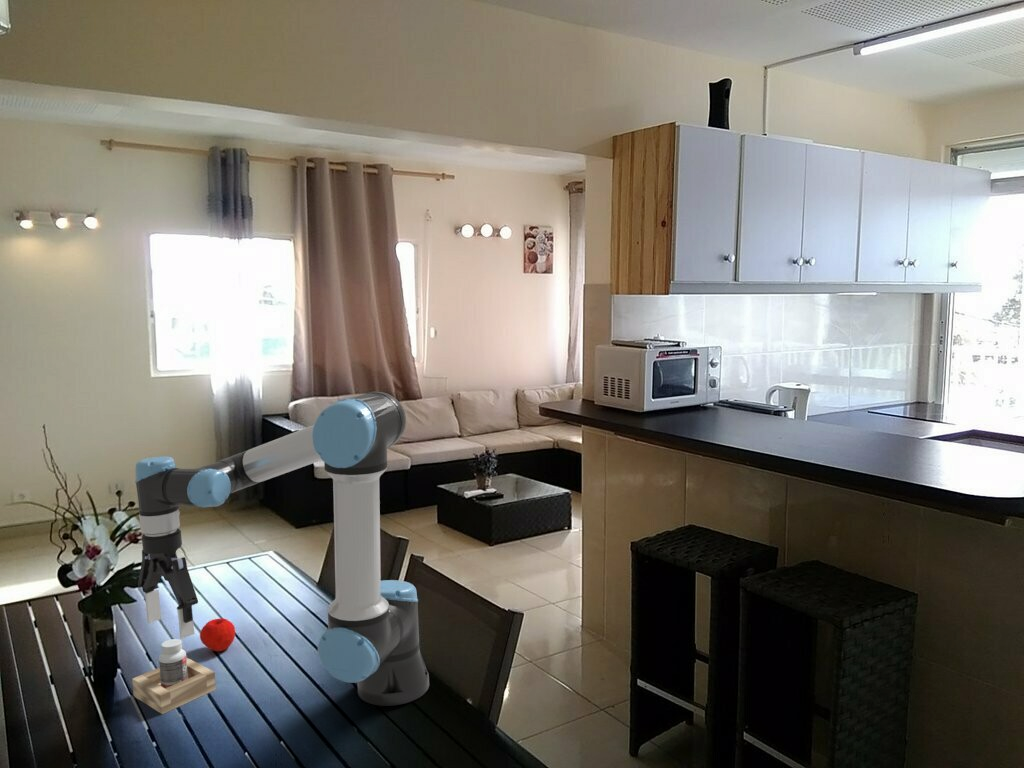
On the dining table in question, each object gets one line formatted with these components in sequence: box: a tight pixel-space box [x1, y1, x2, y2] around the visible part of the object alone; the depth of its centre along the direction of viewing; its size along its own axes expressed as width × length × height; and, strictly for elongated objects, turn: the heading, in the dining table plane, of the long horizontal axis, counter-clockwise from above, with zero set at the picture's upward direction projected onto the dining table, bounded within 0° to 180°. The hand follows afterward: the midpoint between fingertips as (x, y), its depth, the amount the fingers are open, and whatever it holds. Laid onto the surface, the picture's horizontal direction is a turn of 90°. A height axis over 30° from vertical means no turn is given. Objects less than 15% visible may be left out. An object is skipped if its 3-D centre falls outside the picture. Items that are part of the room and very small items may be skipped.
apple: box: [199, 617, 236, 652], centre depth 187 cm, size 8×8×7 cm
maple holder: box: [131, 656, 217, 715], centre depth 167 cm, size 12×12×4 cm
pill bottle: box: [158, 638, 188, 688], centre depth 167 cm, size 5×5×10 cm
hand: (170, 628), depth 166 cm, fingers open, 13 cm apart
